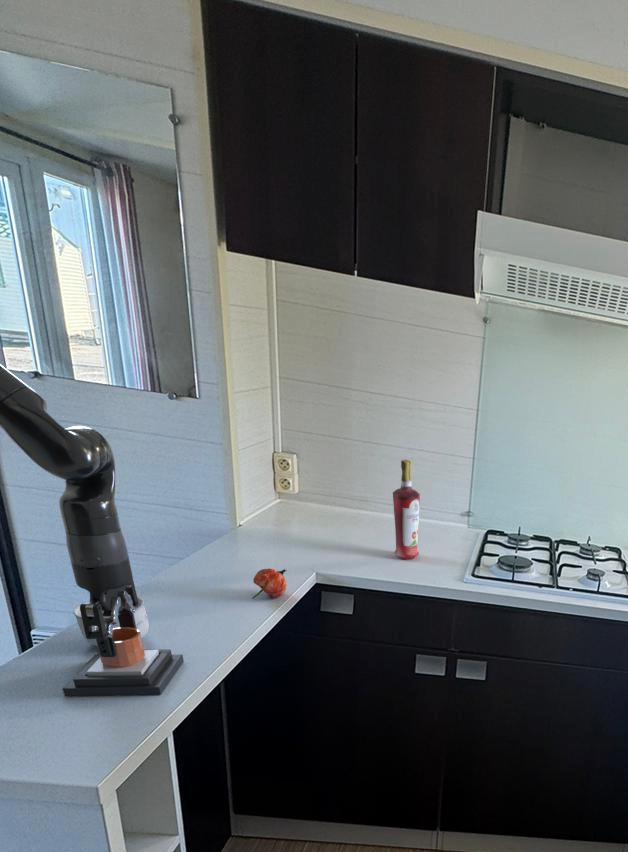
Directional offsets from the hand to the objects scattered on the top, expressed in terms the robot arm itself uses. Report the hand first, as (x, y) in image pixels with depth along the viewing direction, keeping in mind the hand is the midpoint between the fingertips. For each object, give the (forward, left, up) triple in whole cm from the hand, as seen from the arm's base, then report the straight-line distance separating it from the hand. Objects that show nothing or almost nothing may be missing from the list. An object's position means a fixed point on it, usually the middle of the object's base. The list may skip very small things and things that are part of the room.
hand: (119, 644), depth 109 cm
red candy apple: (+16, +38, -7) cm, 42 cm away
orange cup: (0, 0, -3) cm, 3 cm away
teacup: (-6, +16, -7) cm, 18 cm away
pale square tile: (0, 0, -5) cm, 5 cm away
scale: (0, 0, -7) cm, 7 cm away
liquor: (+46, +70, -7) cm, 84 cm away
